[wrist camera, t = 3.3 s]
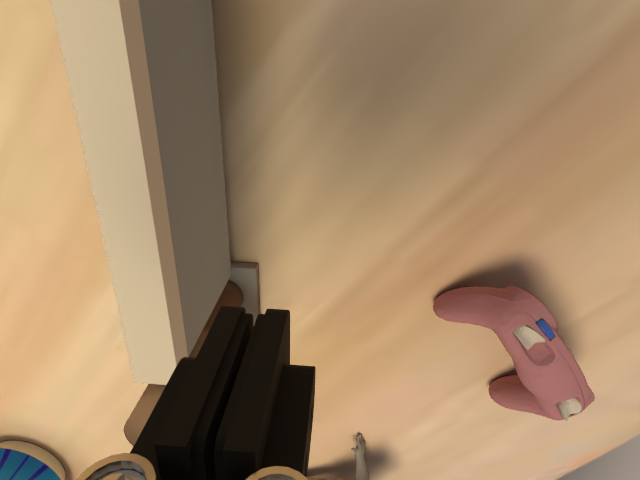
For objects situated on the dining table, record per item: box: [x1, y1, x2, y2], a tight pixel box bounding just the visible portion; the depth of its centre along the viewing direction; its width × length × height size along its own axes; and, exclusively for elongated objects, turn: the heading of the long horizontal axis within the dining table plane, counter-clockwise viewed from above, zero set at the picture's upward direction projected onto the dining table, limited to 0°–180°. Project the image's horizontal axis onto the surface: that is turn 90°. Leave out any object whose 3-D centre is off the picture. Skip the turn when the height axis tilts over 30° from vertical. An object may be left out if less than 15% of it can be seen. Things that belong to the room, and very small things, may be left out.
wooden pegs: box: [124, 262, 260, 446], centre depth 19 cm, size 25×4×12 cm, turn 178°
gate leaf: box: [50, 0, 231, 385], centre depth 19 cm, size 17×2×9 cm, turn 178°
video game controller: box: [433, 286, 595, 421], centre depth 26 cm, size 10×5×7 cm, turn 34°
